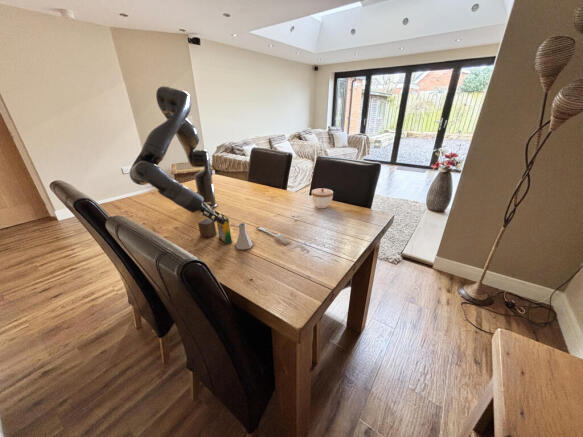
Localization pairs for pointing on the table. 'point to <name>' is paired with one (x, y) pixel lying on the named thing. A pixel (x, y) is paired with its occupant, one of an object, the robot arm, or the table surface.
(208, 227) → the walnut block
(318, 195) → the lidded bowl
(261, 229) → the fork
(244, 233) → the flask
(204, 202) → the robot arm
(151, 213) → the table surface
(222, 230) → the crayon box
